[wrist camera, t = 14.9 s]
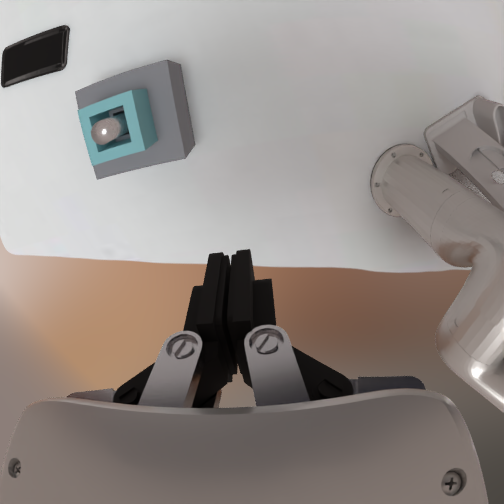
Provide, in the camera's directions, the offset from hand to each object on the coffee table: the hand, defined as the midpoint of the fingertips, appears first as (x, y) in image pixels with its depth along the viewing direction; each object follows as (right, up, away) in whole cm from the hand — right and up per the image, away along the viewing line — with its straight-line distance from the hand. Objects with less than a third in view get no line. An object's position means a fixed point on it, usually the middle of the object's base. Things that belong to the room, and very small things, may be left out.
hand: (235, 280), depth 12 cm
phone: (-34, +32, +15) cm, 49 cm away
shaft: (-14, +20, +22) cm, 33 cm away
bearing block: (-14, +20, +23) cm, 34 cm away
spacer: (-14, +16, +16) cm, 27 cm away
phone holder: (+38, +22, +25) cm, 50 cm away
